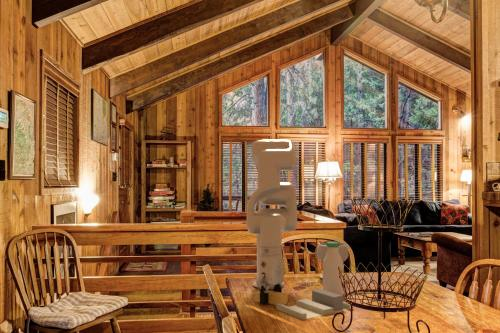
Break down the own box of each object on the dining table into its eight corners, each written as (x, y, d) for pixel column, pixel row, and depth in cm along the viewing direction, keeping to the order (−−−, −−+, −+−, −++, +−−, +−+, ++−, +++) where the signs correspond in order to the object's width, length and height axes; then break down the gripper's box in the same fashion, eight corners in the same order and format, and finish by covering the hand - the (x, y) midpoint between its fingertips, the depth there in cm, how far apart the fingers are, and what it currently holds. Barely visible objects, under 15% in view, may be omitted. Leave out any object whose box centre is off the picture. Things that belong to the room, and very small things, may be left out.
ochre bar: (254, 304, 165) (254, 291, 165) (260, 302, 168) (260, 289, 168) (281, 309, 159) (281, 295, 159) (287, 306, 162) (287, 293, 163)
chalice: (352, 276, 211) (352, 243, 211) (342, 282, 199) (342, 247, 199) (323, 273, 218) (323, 241, 218) (311, 279, 206) (311, 244, 206)
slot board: (276, 311, 155) (276, 303, 155) (324, 302, 166) (324, 295, 166) (302, 322, 143) (302, 314, 143) (353, 312, 154) (352, 304, 154)
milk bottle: (343, 298, 172) (343, 243, 172) (322, 297, 173) (322, 243, 174) (343, 293, 179) (343, 241, 180) (323, 292, 181) (323, 240, 181)
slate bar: (311, 303, 161) (311, 290, 161) (320, 302, 163) (320, 289, 163) (333, 311, 152) (333, 297, 152) (343, 309, 154) (342, 295, 154)
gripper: (267, 255, 155) (267, 308, 154) (292, 248, 169) (292, 297, 169) (248, 253, 159) (248, 305, 158) (273, 247, 174) (274, 294, 173)
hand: (271, 301), depth 164 cm, fingers open, 8 cm apart
